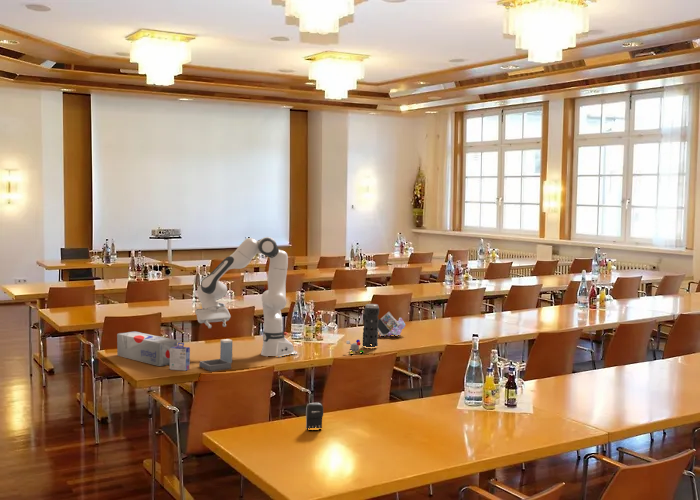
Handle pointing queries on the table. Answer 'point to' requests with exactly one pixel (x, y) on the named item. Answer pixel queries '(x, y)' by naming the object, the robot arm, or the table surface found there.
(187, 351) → the ink cartridge box
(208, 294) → the robot arm
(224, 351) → the blue-grey rectangular block
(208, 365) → the tray
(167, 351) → the soda pack
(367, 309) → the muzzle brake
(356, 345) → the molecular model
